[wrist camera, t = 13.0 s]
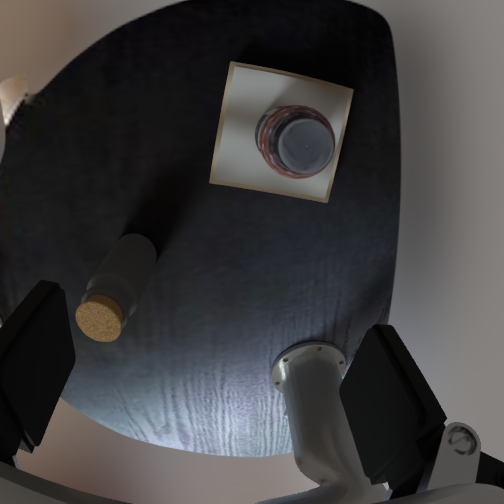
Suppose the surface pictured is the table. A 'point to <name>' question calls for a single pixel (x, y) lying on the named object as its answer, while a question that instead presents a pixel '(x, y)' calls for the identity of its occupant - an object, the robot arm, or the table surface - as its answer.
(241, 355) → the table surface
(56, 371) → the robot arm
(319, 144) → the supplement bottle
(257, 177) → the grey square box
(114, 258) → the bottle
